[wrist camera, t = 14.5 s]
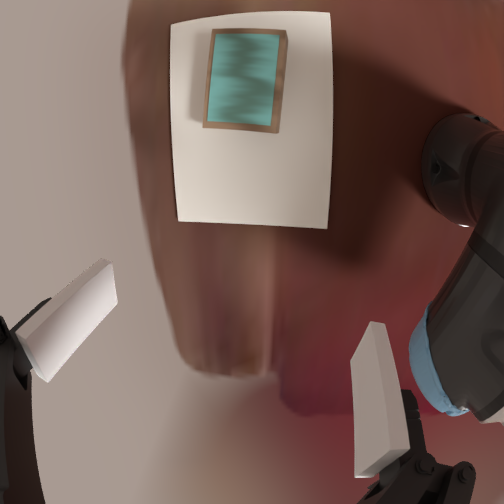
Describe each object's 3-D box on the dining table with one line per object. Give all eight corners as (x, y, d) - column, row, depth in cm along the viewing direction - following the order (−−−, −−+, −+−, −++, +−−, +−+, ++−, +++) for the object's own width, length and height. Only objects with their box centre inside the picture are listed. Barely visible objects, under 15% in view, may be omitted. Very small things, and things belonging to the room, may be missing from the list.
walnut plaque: (278, 132, 31) (288, 40, 26) (275, 133, 27) (285, 29, 22) (213, 127, 32) (222, 38, 27) (201, 128, 28) (211, 28, 23)
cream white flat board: (173, 26, 27) (171, 24, 26) (329, 15, 24) (329, 12, 23) (180, 219, 39) (178, 221, 39) (326, 226, 36) (327, 228, 35)
